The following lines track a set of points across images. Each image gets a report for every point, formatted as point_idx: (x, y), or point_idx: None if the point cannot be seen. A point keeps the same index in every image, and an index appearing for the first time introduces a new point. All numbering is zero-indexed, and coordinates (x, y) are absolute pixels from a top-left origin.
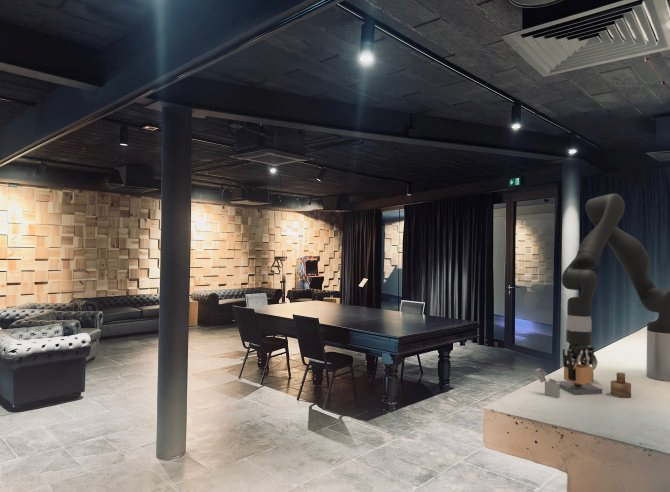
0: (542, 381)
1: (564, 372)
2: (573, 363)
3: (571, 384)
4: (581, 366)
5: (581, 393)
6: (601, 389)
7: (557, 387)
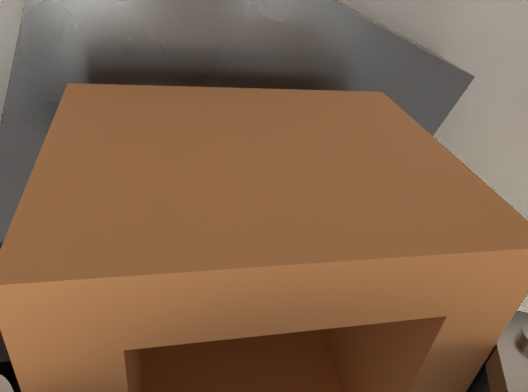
0: None
1: (43, 160)
2: (456, 263)
3: None
4: (392, 372)
5: None
6: None
7: None
